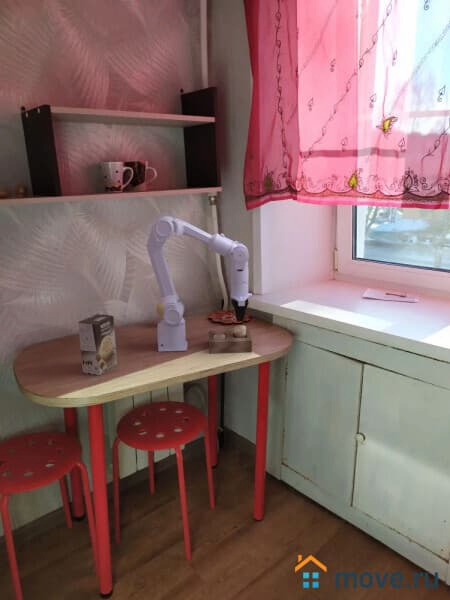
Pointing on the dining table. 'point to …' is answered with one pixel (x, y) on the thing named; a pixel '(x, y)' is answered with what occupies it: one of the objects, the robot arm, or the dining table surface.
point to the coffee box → (97, 344)
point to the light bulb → (160, 311)
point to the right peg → (239, 331)
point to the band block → (229, 343)
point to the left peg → (218, 336)
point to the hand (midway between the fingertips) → (239, 320)
